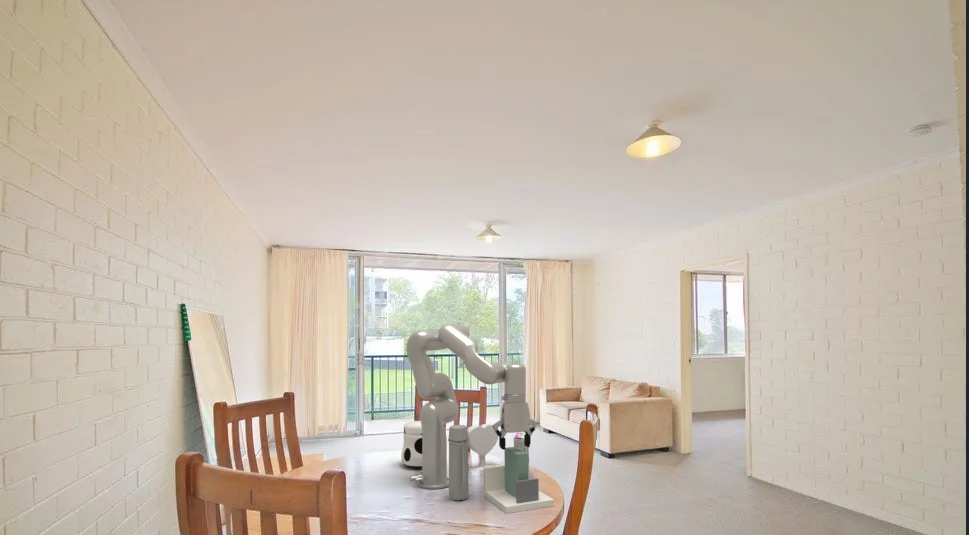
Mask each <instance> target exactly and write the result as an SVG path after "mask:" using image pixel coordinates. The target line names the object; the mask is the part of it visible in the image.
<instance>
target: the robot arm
mask: <svg viewBox="0 0 969 535" xmlns="http://www.w3.org/2000/svg"><path fill="white" fill-rule="evenodd" d="M470 336H471V335H470V330H469V329H468V327H466V325H464V324H461V323H449V324H448V323H447V324H443V325H442V326H441V327H440V328H439V329H420V330H417V331H415V332H413V333H411V335H410V336H409V337H408V339H407V342H406V347H405V348H406V355H407V358H408V361H409V363H410V366H411V369H412V374H413V378H414V382H415V386H416V390H417V393H418V395H419V397H420V398H422V399H424V400H429V399H434V398H435V400H432V401H429V402H427V403H425V404H424V405H423V406H422V407H421V409H420V412H419V421H421V426H422V468H421V469H422V471H420V473H419V474H417V475H410V476H409V480H410V482H415V483H417V484H418V486H419V487H420V488H423V489H427V490H437V489H443V488H447V487H449V477H448V475H447V473H448V472H447V470H448V468H447V467H448V465H447V464H448V460H447V459H448V456H447V453H448V450H447V449H448V448H447V447H448V446H447V445H448V439H447V438H448V437H447V432H446V429H445V427H444V425H445V424H450V423H453V422H455V420H456V419H457V418H458V416H459V405H458V401H457V397H456V393H455V389H454V386H453V383H452V380H451V379H450V377H449V376H448V375H447V374H445V373H444V372H436V371H435V369H434V364H433V361H432V359H431V358H430V356H429V354H427V352H428V351H429V352H431V351H441V350H445V349H446V350H447V349H448V350H449V351H451V352H452V353H453V354H455V355H456V356H457V357H459V358H460V359H461V360H462V362H463V364H464V367H465V368H466V370H467V371H468V373H470V375H471V376H473V377H474V378H475V379H477V380H478V381H479V382H481V383H482V384H485V385H494V384H496V385H497V384H500V383H504V395H502V396H501V401H504V402H503V403H502V408H501V413H500V420H498V421H496V422H495V423H493V424H492V425H493V426H492V427H493V429H494V431H495V433H496V434H497V435H498V447H500V448H499V449H501V450H505V448H507V447H506V440H507V439H506V437H505V436H506V435H507V433H508V434H511V433H512V434H513V433H517V432H525V433H526V434H525V435H524V445H525V446H526V447H529V448H531V441H532V440H531V438H532V437H531V436H533V433H534V432H535V431H536V427H537V425H538V422H537V421H535V420H533V419H532V418H531V414H530V413H531V412H530V407H529V406H530V405H529V403H528V402H526V400H527V398H526V397H527V394H526V392H527V388H526V387H527V386H526V384H527V383H526V380H527V370H526V366H525V365H524V364H523V363H522V364H521V363H510V362H509V363H508V362H504V361H497V362H496V361H495V362H488V361H487V360H485V359H484V358H483V357H481V356H480V355H479V353H477V352H478V349H479V345H478V343H477V341H476V340H474V339H473V338H471V337H470ZM499 427H500V430H499Z"/></svg>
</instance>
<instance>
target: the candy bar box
mask: <svg viewBox="0 0 969 535" xmlns="http://www.w3.org/2000/svg"><path fill="white" fill-rule="evenodd" d="M525 434H526V433H525V432H516V434H515V435H514V437H513V447H516V448H518V449H520V450H522V451H524V452H526V453H528V463H529V464H530V447H526V446H525V445H524V435H525Z"/></svg>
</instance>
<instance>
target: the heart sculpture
mask: <svg viewBox="0 0 969 535" xmlns="http://www.w3.org/2000/svg"><path fill="white" fill-rule="evenodd" d="M492 426H493V424H490V423H483V424H481V425H476V424H475V425H472V426H469V427H467V430H468V439H469V440H470V442H469V440H468V442H469V443H468V449H470V450H471V451H472V452H474V453H477V454H478V455H479V466H478V465H477V466H474V467H470V468H468V469H469V470H472V471H471V472H474V471H475V472H478V471H484V468H486V467H494V466H496V465H494V464H486V456H487V454H488V453H490V451H492V450H493V449H494V448H495V447H496V444H497V442H498V441H499V436H498V435H497V434H496V433H495V431H494V429H493V427H492ZM469 470H468V471H469Z"/></svg>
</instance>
